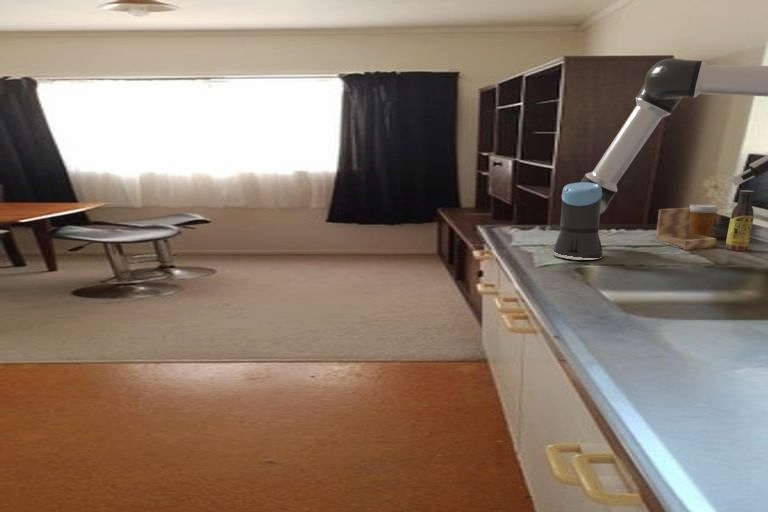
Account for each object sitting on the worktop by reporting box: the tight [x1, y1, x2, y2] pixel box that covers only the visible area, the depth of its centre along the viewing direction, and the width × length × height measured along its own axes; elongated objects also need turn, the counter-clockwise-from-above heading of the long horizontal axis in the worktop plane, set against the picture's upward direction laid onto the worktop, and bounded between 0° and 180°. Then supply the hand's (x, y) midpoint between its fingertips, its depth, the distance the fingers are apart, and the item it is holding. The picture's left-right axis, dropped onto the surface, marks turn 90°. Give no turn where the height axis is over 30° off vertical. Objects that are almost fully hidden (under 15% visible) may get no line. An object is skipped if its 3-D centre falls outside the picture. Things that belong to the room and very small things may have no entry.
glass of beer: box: [688, 203, 719, 237], centre depth 186 cm, size 10×10×12 cm
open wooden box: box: [655, 207, 717, 250], centre depth 174 cm, size 13×13×12 cm
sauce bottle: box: [725, 189, 755, 252], centre depth 163 cm, size 7×6×20 cm
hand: (742, 174), depth 156 cm, fingers open, 13 cm apart
